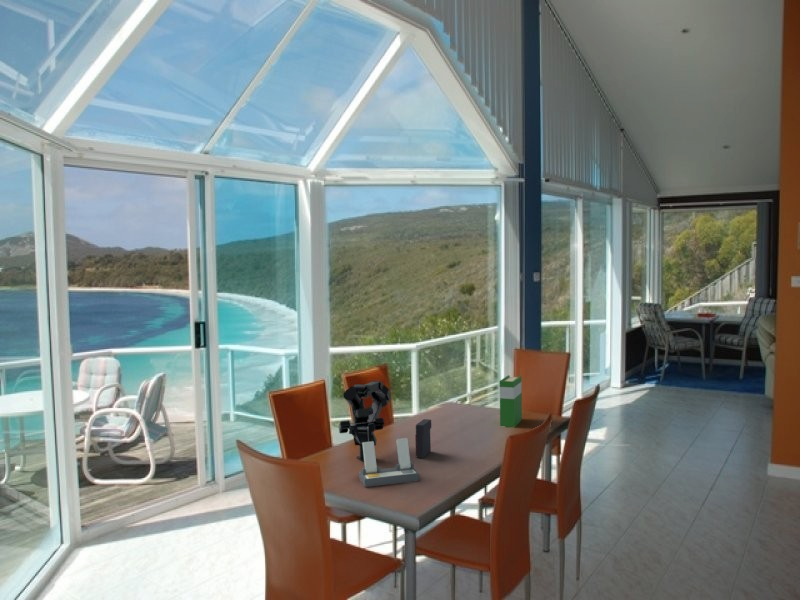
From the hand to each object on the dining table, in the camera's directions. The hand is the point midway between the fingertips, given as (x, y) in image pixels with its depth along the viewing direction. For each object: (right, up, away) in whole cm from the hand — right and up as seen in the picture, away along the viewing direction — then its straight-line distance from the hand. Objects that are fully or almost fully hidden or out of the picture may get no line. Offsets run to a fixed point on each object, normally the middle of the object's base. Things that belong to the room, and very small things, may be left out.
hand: (365, 443), depth 261 cm
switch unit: (+10, -13, -7) cm, 18 cm away
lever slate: (+16, -8, -6) cm, 19 cm away
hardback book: (+74, -7, +76) cm, 106 cm away
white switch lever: (+3, -9, -9) cm, 13 cm away
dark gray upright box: (+25, -11, +24) cm, 36 cm away
